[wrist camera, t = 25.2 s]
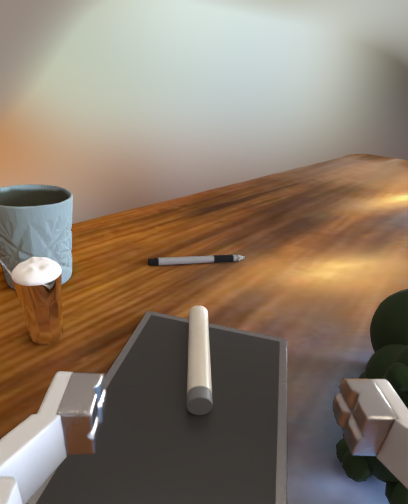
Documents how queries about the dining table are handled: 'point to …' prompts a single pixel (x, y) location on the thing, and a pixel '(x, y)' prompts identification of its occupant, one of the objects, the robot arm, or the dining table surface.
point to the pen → (194, 259)
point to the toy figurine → (397, 374)
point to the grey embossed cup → (35, 226)
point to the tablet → (185, 425)
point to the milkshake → (40, 297)
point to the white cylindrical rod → (199, 363)
